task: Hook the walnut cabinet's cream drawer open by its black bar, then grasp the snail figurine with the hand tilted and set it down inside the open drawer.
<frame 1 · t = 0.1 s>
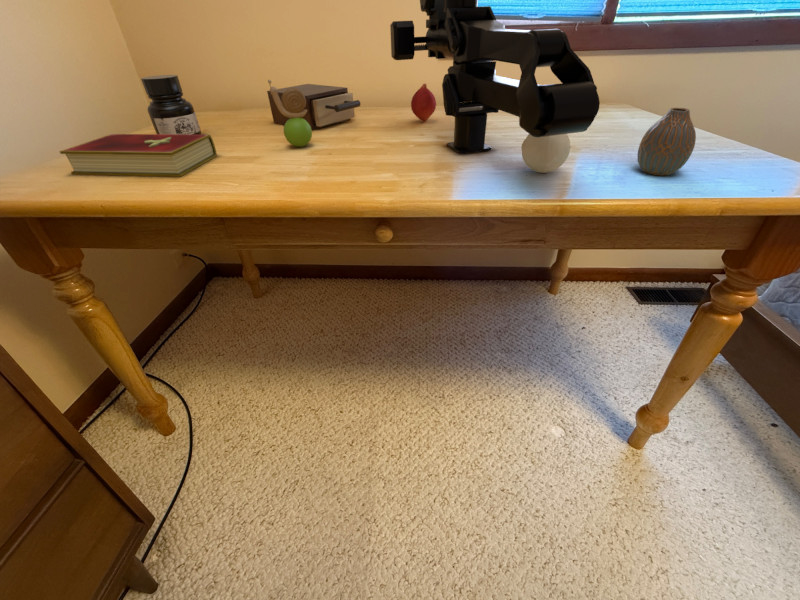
hand: (423, 37, 82), 17 cm above the table, tool horizontal, fingers open, 9 cm apart
ink bottle: (181, 139, 86), on the table
onion: (423, 122, 92), on the table
cabinet: (312, 121, 95), on the table
snail figurine: (298, 147, 77), on the table
vase: (656, 172, 59), on the table
drawer: (323, 107, 91), point 4 cm above the table, slide at 1.0 cm
baseball: (540, 172, 61), on the table
hardcover book: (148, 165, 71), on the table
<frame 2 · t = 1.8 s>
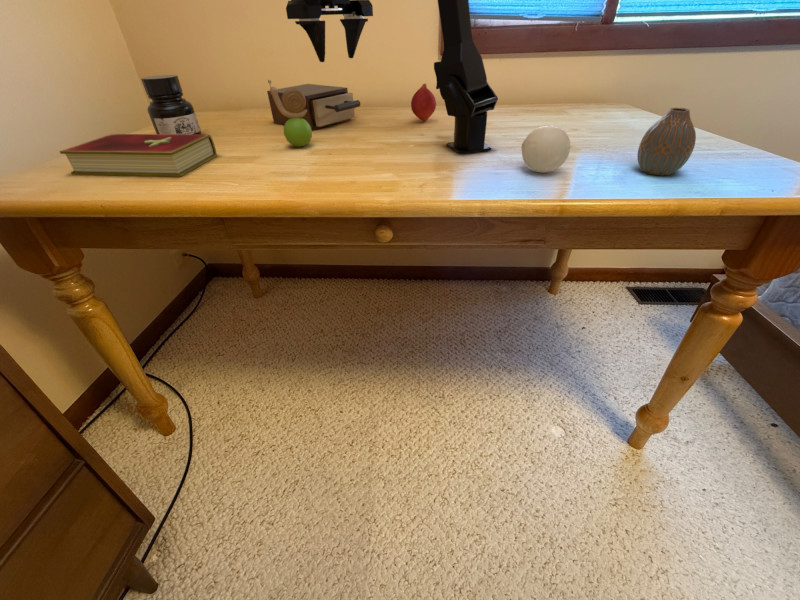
hand: (337, 60, 82), 13 cm above the table, tool pointing down, fingers open, 8 cm apart
nothing on the table moved.
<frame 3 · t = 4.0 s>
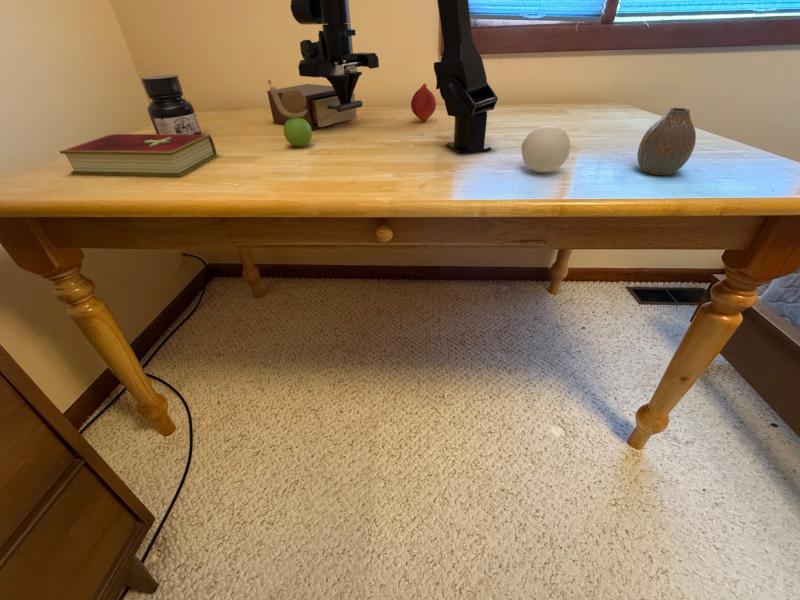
hand: (345, 108, 87), 4 cm above the table, tool pointing down, fingers closed
drawer: (325, 107, 90), point 4 cm above the table, slide at 1.7 cm
everything else where it was.
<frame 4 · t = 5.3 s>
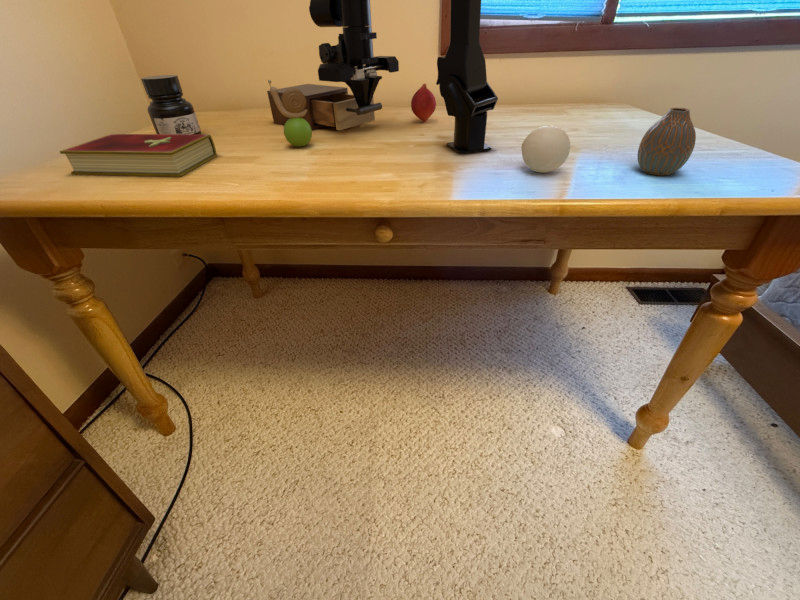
hand: (364, 113, 84), 3 cm above the table, tool pointing down, fingers closed, pressing on drawer
drawer: (343, 110, 87), point 4 cm above the table, slide at 7.6 cm, touching gripper
everything else where it was.
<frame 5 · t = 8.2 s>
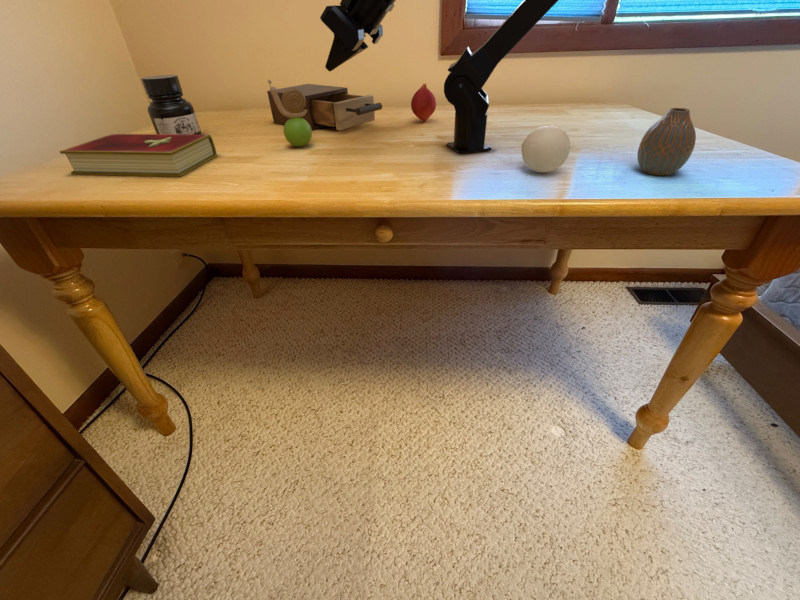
hand: (327, 69, 68), 13 cm above the table, tool tilted 45°, fingers closed
drawer: (343, 110, 87), point 4 cm above the table, slide at 7.6 cm
everything else where it was.
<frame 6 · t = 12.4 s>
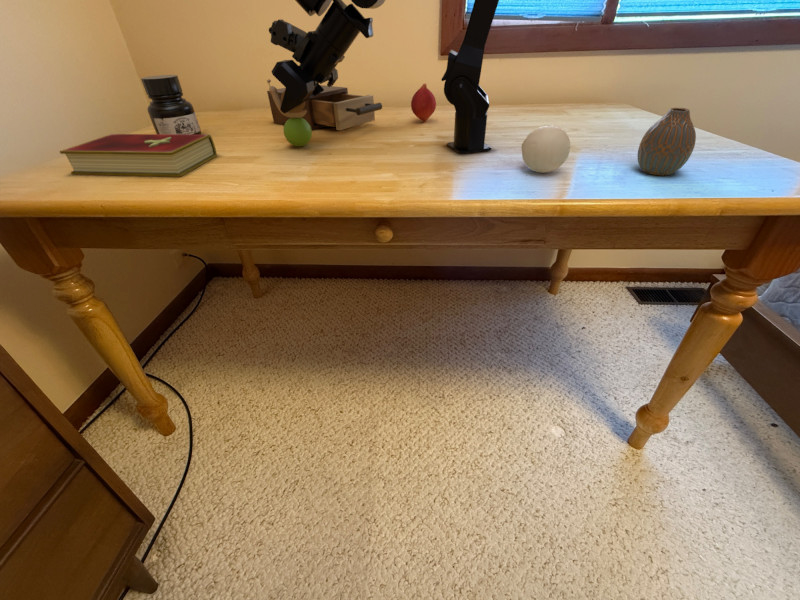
hand: (284, 110, 73), 7 cm above the table, tool tilted 45°, fingers closed on snail figurine
snail figurine: (298, 147, 77), on the table, touching gripper
everything else where it was.
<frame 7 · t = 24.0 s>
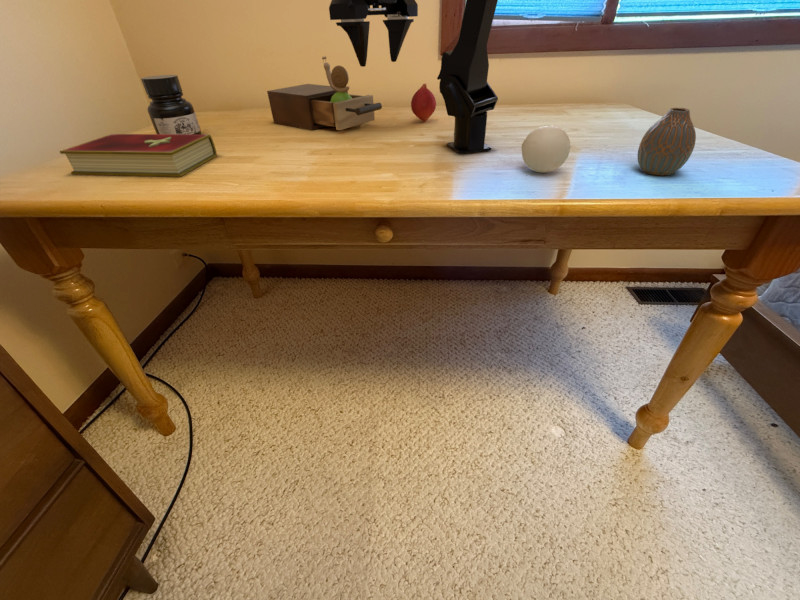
hand: (378, 64, 76), 13 cm above the table, tool pointing down, fingers open, 9 cm apart
snail figurine: (342, 118, 88), point 2 cm above the table, touching drawer
drawer: (342, 110, 87), point 4 cm above the table, slide at 7.5 cm, touching snail figurine
everything else where it was.
at the end: drawer slide at 7.5 cm; snail figurine inside the target area in the drawer (0.4 cm from its centre), point 1.8 cm above the cabinet's base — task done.
